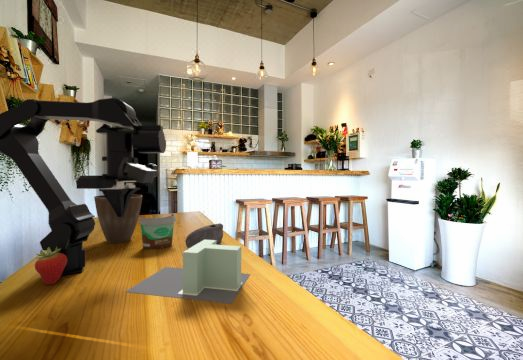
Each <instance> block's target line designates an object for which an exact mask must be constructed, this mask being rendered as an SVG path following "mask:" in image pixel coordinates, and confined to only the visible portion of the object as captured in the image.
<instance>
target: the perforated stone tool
mask: <svg viewBox="0 0 523 360" xmlns="http://www.w3.org/2000/svg"><path fill="white" fill-rule="evenodd" d="M223 229H224V224H222V223H214V224H213V223H212V224H210V225H205V226H202V227H200V228H197V229H195V230H193V231H192V232H190V233H189V234H188V235H187V236H186V239H185V246H186V248H187V249H189V248H191V247H192V246H194V245H196V244H198V243H199V242H201V241H203V240H217V242H216V245H221V243H222V241H223V240H222V239H223V237H224V230H223Z"/></svg>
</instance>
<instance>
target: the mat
mask: <svg viewBox="0 0 523 360" xmlns="http://www.w3.org/2000/svg"><path fill="white" fill-rule="evenodd" d="M250 276H251V273H242V272H241V285H240V286H239V288H238V289H237V290H234V289H224V288H214V287H204V288H203V289H202V290H201V291H200V292H199V293H198V294H190V293H183V267H173V266H172V267H171V266H165V267H163V268H162V269H161V268H160V269H159V270H158V271H156V272H155V273H153V274H151V275H149V276H148V277H147V278H145V279H144V280H142V281H140V282H138V283H136V284H135V285H134V286H132V287H131V288H129V289H127V290H125V291H124V293H128V294H129V293H130V294H140V295H147V296H158V297H165V298H175V299H176V298H177V299H184V300H193V301H202V302H203V301H204V302H211V303H219V304H220V303H221V304H228V305H229V304H230V305H233V303H234V301H235V300H236V298H237V296H238V295H239V294H240V291H241V290H242V289H243V287H244V285H245V284H246V282H247V281H248V280H249V277H250Z"/></svg>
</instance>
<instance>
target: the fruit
mask: <svg viewBox="0 0 523 360" xmlns="http://www.w3.org/2000/svg"><path fill="white" fill-rule="evenodd" d="M60 249H61V248H60ZM60 249H57V246H56V250H55V251H54V252H52V253H51V250H50V248H49V247H48V248H47V251H46V252H45V251H43V250H42V248H41V249H40V251H39V254H38V253H36V255H37V256H39V257H36V259H37V260H36V261H35V263H34V269H35V271H36V272H37V274H39V276H40V278H41V279H42V281H43V283H44V284H46V285H53V284H56V283H57V282H58V281H59V279H60V278H61V276H62V275H61V274H62V272H63V270H64V268H65V266H66V264H67V257H66V255H64V254H62V253H56V252H58V251H59V250H60Z"/></svg>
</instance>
